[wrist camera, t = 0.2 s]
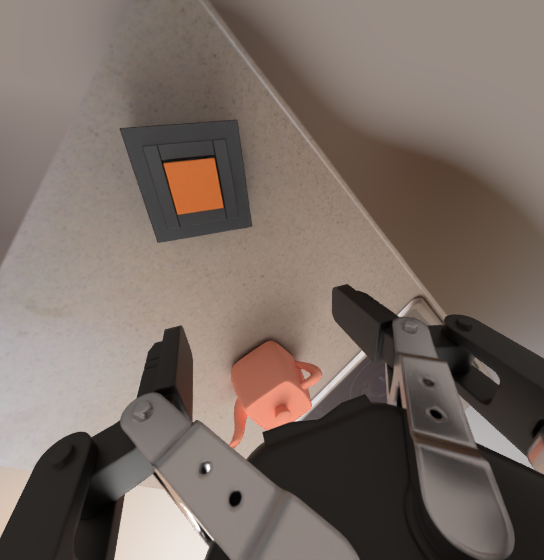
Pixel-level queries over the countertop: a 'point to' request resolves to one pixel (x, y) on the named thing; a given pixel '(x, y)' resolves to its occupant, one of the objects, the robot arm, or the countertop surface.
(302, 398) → the teapot
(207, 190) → the key
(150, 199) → the push button box
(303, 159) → the countertop surface
